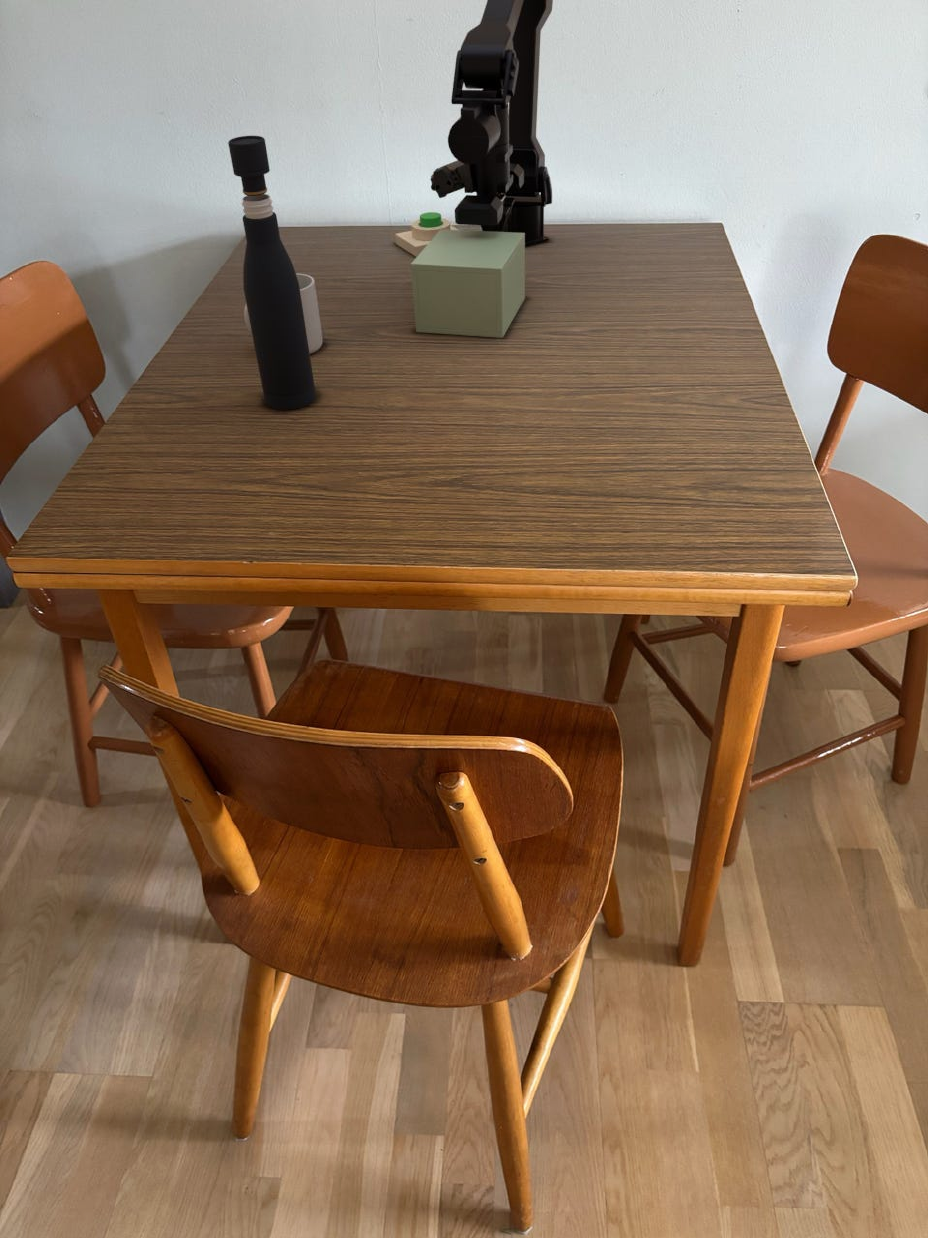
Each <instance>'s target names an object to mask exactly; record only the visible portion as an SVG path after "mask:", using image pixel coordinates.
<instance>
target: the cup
mask: <svg viewBox="0 0 928 1238" xmlns="http://www.w3.org/2000/svg"><path fill="white" fill-rule="evenodd" d="M296 276H297V279H298V282H299V287H300V294H301V300H302V307H303V314H304V320H305V327H306V333H307V340H308V346H309V353H310V355H311V354H314V353H316V352H317V351H319V350H320V349H321V347H322V346H323V343H324V342H323V332H322V325H321V318H320V317H321V316H320V311H319V304H318V303H319V302H318V297H317V290H316V282H315V278H314V277H313V276H311V275H309V274H306V273H305V274H304V273H296ZM243 311H244V312H243V318H244V323H245V326H246V329H247V331H248V332H249V334H250V335H251V336H252V331H251V325H250V320H249V315H248V309H247V304H246V303H245V306H244V309H243Z"/></svg>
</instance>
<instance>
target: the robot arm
mask: <svg viewBox="0 0 928 1238" xmlns="http://www.w3.org/2000/svg"><path fill="white" fill-rule="evenodd" d="M553 2H554V0H486V4H485V7H484V10H483V14H482V17H481V20H480V22H479V24H478V25H476V26H474V27H473V28H472V29H470V30H469V31H468V32H466V34H465V37H464V39H463V42H462V44H461V46H460V49H459V50H457V53H456V57H455V66H454V74H453V82H452V83H453V84H452V91H451V100H450V101H451V102H450V103H451V105H462V107H461V108H460V117H458V119H457V120H456V121H455V122H454V123H453V124H452V125H451V127H450V129H449V132H448V136H447V144H448V148H449V151H450V153H451V154H452V156H453V158H455V159H456V160H455V161H453V162H450V163H447V164H445V165H442V166H440V167H437V168H435V169H434V171H433V172H432V174H431V176H430V179H429V180H430V182H431V185H430V189H431V190H432V191H434V192H436V194H437V196H438V198H439V199H442V198H446V197H447V195H449V194H452V193H455V192H457V191H461V190H463V189H464V193H465V194H466V195H465V196H464V197H463V198H462V199H461V200H460V201H459V203H458V204H457V205H456V207H455V208H454V222H455V224H456V225H463V226H480V227H481V231H490V232H513V233H525V247H527V246H531V245H535V244H539V243H544V242H549V240H550V239H549V238H550V237H549V236H547V235H545V227H544V226H545V207H546V206H548V205H552V203H553V186H552V182H551V176H550V174H549V170H548V167H547V166H546V154H545V151H544V149H543V147H542V146H541V144H540V142H539V140H538V137H537V121H538V99H539V77H540V74H539V73H540V56H541V55H540V53H541V36H542V35H541V32H542V30H543V28H544V27H545V24H546V22H547V20H548V19H549V17H550V16H551V13H552V12H553ZM463 87H464V88H465V89H463ZM474 193H475V194H474Z"/></svg>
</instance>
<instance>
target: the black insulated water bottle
mask: <svg viewBox="0 0 928 1238" xmlns="http://www.w3.org/2000/svg"><path fill="white" fill-rule="evenodd" d="M227 144H228V149H229V155H230V160H231V166H232V171H233V175H234V176H235V177H240V180H241V185H242V194H244V195H245V196H244V197H242V202H241V205H242V207H243V209H242V212H243V213H244V215H243V216H242V223H243V229H244V234H245V239H246V240H245V241H246V244H245V250H244V251H245V252H244V257H243V258H244V259H243V269H242V275H243V276H242V284H243V285H242V287H243V294H244V299H245V305H246V304H247V309H248V315H249V320H250V325H251V331H252V335H251V336H252V340H253V341H252V342H253V345H254V351H255V356H256V361H257V367H258V372H259V378H260V383H261V387H262V393H263V399H264V402H265V405H266V406H268V407H269V408H271V409H273V410H278V411H293V410H297V409H298V410H299V409H302V408H304V407H307V406H309V405H310V404H312V403H313V402H314V401H315V400H316V397H317V393H316V387H315V386H316V385H315V380H314V374H313V368H312V367H313V366H312V360H311V354H310V353H309V346H308V340H307V333H306V327H305V320H304V314H303V307H302V300H301V294H300V287H299V282H298V279H297V276H296V274H297V273H296V270H295V267H294V265H293V262H292V259H291V257H290V256H289V254H288V253H289V252H288V251H287V249H286V247H285V245H284V244H283V242H282V239H281V236H280V235H281V234H280V229H279V224H278V216H277V213H276V212H275V211H273V210H274V206H273V205H272V203H273V200H272V199H271V195H269V194H267V192H268V187H267V184H266V179H265V175H266V174H269V173H270V171H271V170H270V164H269V163H270V162H269V158H268V157H269V156H268V151H267V144H266V139H265V137H263V136H261V135H242V136H237V137H234V138H231V139H229V141H228V142H227Z"/></svg>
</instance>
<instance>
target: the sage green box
mask: <svg viewBox="0 0 928 1238" xmlns="http://www.w3.org/2000/svg"><path fill="white" fill-rule="evenodd" d="M525 262H526V246H525V233H513V232H490V231H482V230H464V229H458V230H443V229H441V230H440V231H439V232H438V233H437V234H436V235H435V237H434V238H433V239H432V240H431V241H430V242H429V244H428V245H427V246H426V247H425V248H424V249H423V251H422V252H421V253H420V254H419V255H418V256H417V257H415V258H414V260H413V261H412V262H411V263H410V270H411V271H410V272H411V283H412V297H413V311H414V323H415V332H416V333H426V334H437V335H438V334H439V335H454V336H455V335H456V336H468V337H469V336H470V337H483V338H484V337H485V338H486V337H487V338H497V339H503V338H504V336H505V334H506V333H507V331H508V329H509V327H510V326H511V324H512V322H513V320H514V319H515V317H516V315H517V313H518V312H519V309H520V308H521V306H522V304H523V303H524V301H525V299H526V263H525Z"/></svg>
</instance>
